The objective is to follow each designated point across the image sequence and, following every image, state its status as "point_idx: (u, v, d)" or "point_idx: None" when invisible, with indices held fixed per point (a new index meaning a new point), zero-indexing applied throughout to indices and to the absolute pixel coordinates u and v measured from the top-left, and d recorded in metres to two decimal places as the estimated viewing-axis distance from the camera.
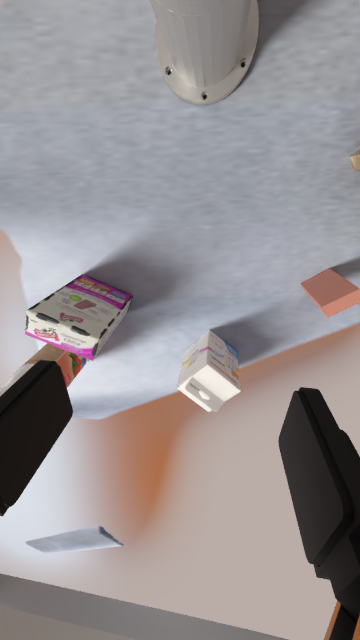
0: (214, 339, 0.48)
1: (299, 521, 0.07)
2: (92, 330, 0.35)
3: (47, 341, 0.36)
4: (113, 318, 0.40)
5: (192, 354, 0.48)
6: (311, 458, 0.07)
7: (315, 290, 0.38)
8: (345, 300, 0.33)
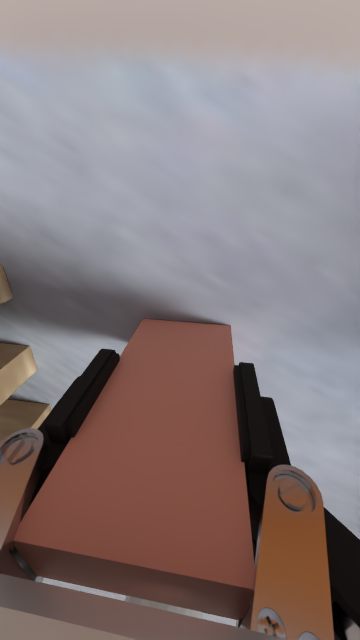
0: None
1: None
2: None
3: None
4: None
5: None
6: None
7: None
8: (112, 581, 0.05)
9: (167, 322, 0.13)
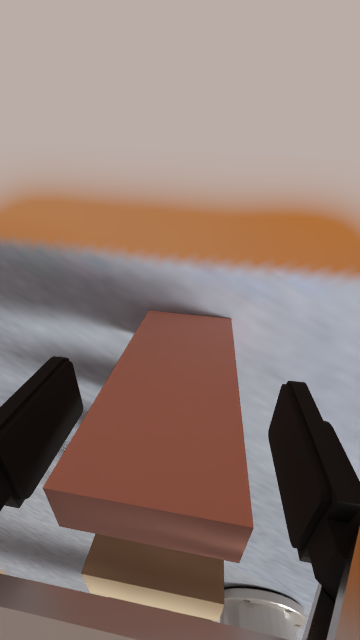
0: None
1: (285, 508, 0.07)
2: None
3: None
4: None
5: None
6: (295, 447, 0.07)
7: None
8: (128, 528, 0.06)
9: (171, 314, 0.14)
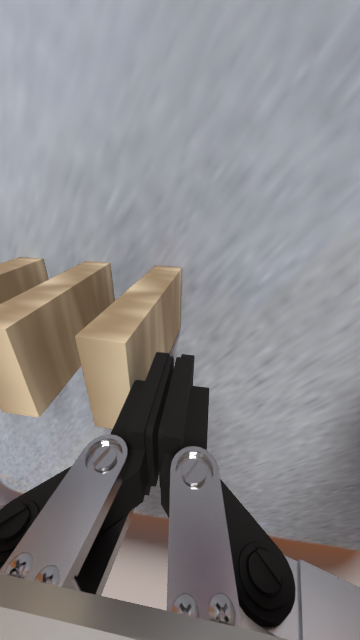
0: None
1: None
2: None
3: None
4: None
5: None
6: None
7: None
8: None
9: None
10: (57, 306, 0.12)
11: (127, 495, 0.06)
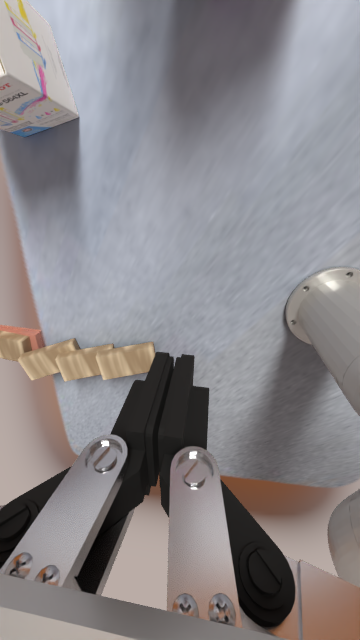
0: (58, 115, 0.27)
1: None
2: None
3: None
4: None
5: (38, 44, 0.23)
6: None
7: None
8: None
9: None
10: (74, 358, 0.42)
11: (127, 495, 0.06)
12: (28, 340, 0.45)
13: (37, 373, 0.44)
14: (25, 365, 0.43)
